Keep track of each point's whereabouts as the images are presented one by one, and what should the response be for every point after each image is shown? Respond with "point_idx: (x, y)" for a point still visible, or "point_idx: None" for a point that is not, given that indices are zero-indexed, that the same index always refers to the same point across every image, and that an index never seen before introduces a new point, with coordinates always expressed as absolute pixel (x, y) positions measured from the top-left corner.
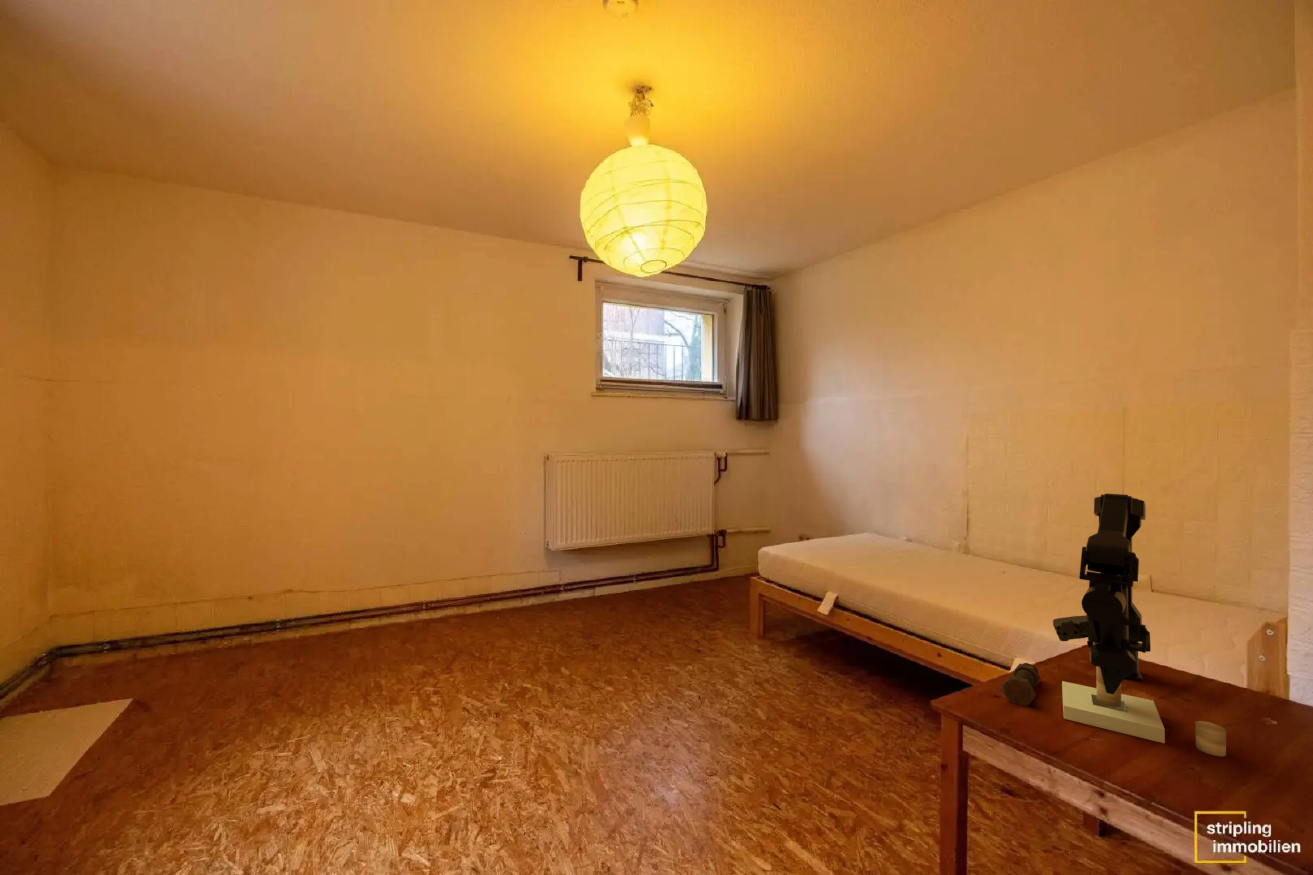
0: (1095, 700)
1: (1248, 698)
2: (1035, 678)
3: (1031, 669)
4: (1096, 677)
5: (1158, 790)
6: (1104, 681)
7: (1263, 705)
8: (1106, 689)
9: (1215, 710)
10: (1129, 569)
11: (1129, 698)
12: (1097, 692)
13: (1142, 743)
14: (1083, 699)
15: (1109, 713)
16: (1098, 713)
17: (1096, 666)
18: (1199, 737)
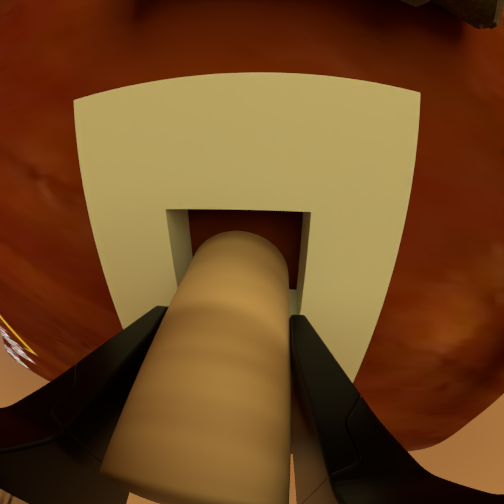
0: (306, 217)
1: (451, 425)
2: None
3: None
4: (208, 316)
5: None
6: (104, 348)
7: (432, 435)
8: (144, 318)
9: (403, 413)
10: None
11: (340, 338)
12: (212, 256)
13: (110, 296)
14: (201, 170)
15: (123, 261)
16: (94, 224)
17: (178, 402)
18: None
